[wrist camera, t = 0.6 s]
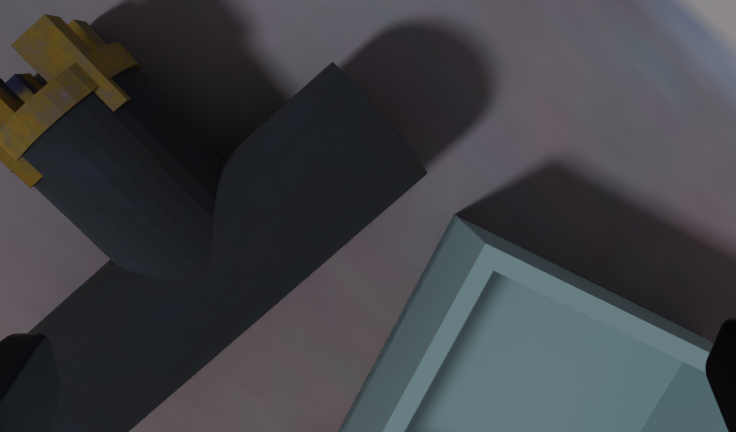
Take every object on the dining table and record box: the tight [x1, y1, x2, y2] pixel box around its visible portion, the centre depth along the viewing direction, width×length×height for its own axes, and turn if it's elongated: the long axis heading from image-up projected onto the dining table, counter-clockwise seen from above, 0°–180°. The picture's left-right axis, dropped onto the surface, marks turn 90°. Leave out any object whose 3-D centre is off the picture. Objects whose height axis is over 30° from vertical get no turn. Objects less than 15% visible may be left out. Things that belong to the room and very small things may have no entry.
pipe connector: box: [0, 14, 427, 432], centre depth 23 cm, size 12×5×15 cm
